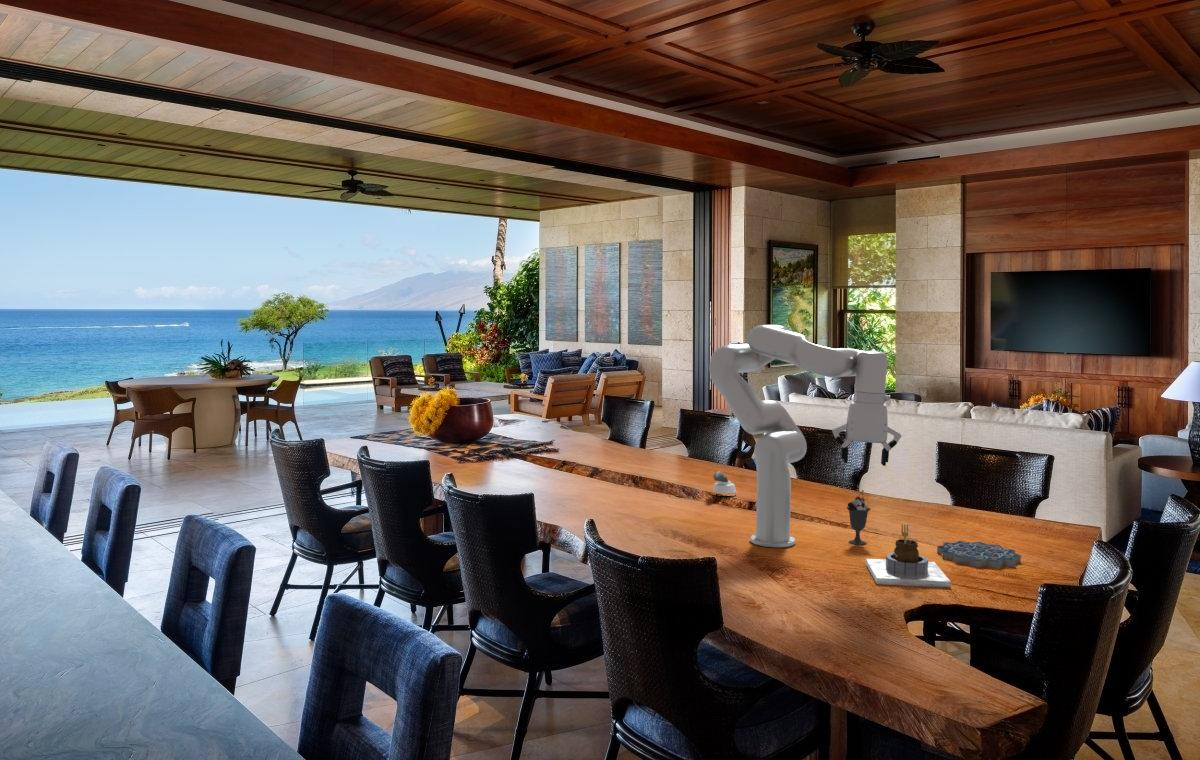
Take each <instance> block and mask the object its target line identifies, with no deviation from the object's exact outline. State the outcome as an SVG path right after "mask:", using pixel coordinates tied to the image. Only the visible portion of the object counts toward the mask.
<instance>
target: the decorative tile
mask: <svg viewBox="0 0 1200 760" xmlns="http://www.w3.org/2000/svg"><path fill="white" fill-rule="evenodd" d="M936 549H937V551H936V553H937V554H938V553H939V554H938V555H941V554H943V555H941V556H942V559H943V558H946V559H945V560H948V559H951V560H950V561H952V560H953V562H954V563H955V564H956V563H960V564H959V565H966V564H968V566H971V567H973V568H991V569H998V570H1000V569H1001V568H1003V567H1006V568H1016V564H1021V563H1022V562H1021V561H1022V555H1021V554H1018V553H1016V550H1015V549H1011V548H1005V547H1002V546H1001V545H1000V544H990V543H989V544H988V543H984V542H982V541H975V542H973V541H972V542H971V541H970V542H969V541H963V540H958V541H956V542H947V541H946V542H943V545H937V548H936Z"/></svg>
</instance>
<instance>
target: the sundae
mask: <svg viewBox="0 0 1200 760" xmlns="http://www.w3.org/2000/svg"><path fill="white" fill-rule="evenodd" d="M861 495H862V497H860V496H861ZM865 500H866V499H865V498H864V490H861V493H860V494H858V495H857V496H856V497H855V498H853V499H852V500H851V502H848V503H847V506H846V509H847V510H848V514H849V521H850V522H849V524H850V527H851V528H852V530H854V531H855V537H854V539H851V540H848V543H849V544H850V545H855V546H865V545H867V542H866V541H863V540H862V539H861V531H863V530H864V529H865V527H866V523H867V520H868V513H869V512H870V511H871V508H870V507H868V506H869V505H868V504H867V502H865Z"/></svg>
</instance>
